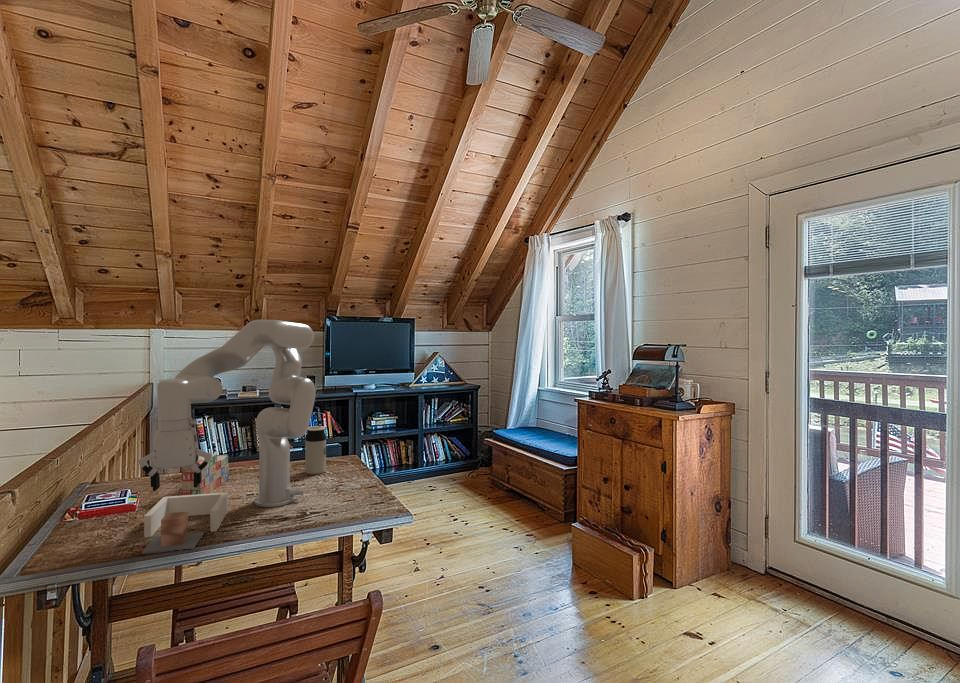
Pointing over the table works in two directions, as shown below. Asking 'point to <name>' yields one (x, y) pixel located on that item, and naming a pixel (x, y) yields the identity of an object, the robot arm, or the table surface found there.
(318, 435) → the travel mug
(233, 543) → the table surface
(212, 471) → the stack of blocks
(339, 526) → the table surface
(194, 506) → the u-shaped wall
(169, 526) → the block
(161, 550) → the mat
